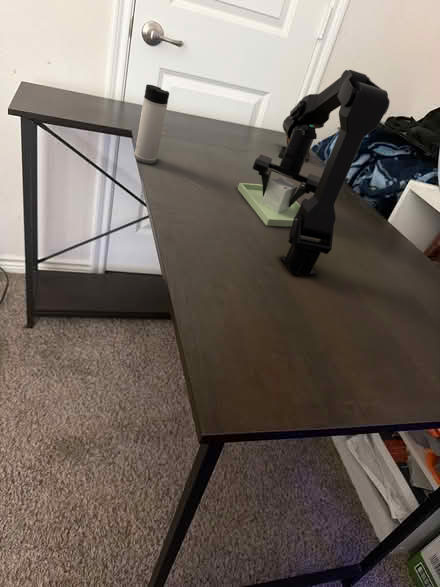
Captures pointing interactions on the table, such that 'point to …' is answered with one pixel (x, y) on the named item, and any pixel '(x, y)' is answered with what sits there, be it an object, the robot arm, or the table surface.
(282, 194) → the product carton
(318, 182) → the robot arm
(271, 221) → the tray
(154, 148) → the travel mug
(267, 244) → the table surface
